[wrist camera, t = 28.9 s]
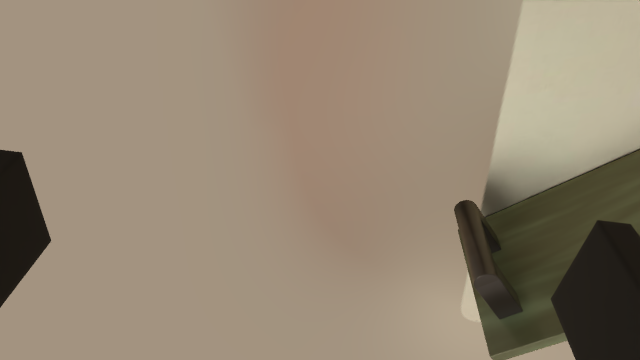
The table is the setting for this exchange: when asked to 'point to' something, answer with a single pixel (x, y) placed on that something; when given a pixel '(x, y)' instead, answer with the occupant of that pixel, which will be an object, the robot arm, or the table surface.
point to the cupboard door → (539, 252)
